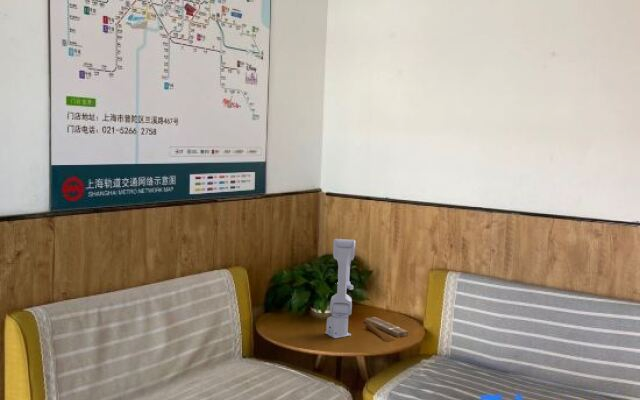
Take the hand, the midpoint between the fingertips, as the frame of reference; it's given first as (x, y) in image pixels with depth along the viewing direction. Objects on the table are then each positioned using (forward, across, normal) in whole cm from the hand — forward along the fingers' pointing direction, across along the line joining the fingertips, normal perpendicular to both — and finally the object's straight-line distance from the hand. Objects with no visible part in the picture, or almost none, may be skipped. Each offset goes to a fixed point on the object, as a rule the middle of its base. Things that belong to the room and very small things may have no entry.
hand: (342, 300), depth 285 cm
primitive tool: (+10, -26, -3) cm, 29 cm away
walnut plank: (+9, -21, -11) cm, 26 cm away
